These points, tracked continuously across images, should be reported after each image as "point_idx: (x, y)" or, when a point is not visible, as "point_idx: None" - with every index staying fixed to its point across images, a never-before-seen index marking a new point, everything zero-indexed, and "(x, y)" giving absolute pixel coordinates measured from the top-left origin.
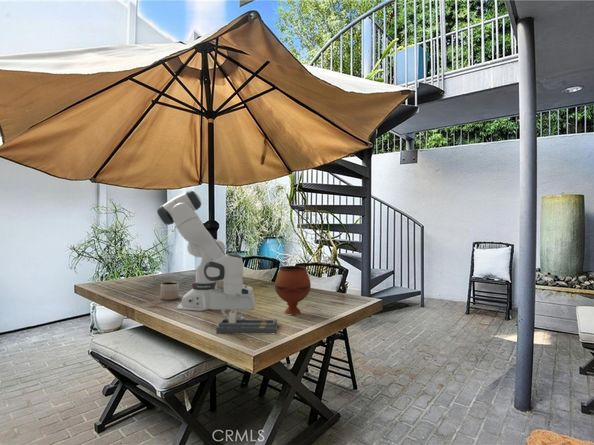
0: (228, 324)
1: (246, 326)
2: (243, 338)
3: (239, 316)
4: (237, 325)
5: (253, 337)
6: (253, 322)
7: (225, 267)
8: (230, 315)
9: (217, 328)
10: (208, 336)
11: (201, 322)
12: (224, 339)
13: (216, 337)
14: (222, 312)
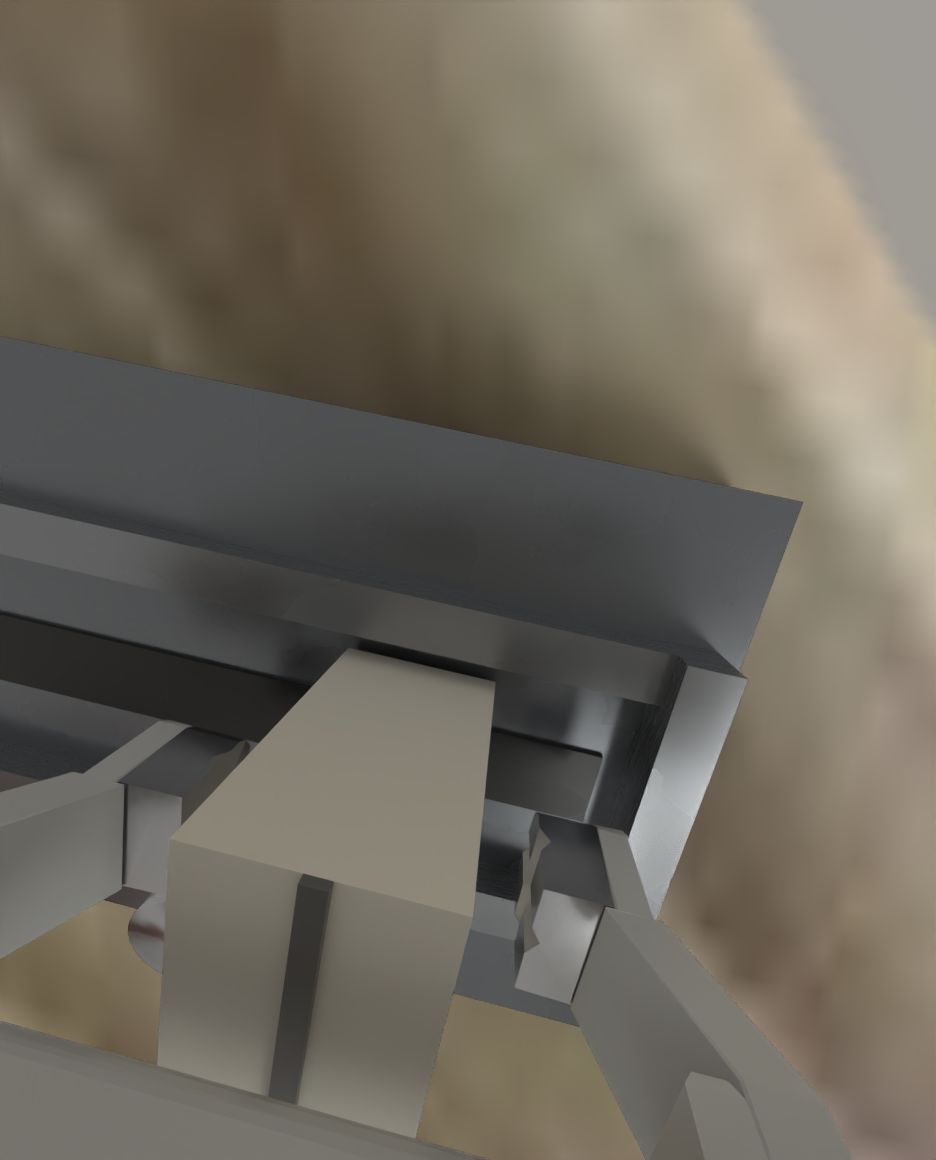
0: (501, 611)
1: (109, 475)
2: (218, 90)
3: (149, 773)
4: (300, 560)
5: (40, 133)
6: (11, 712)
7: None
8: (417, 811)
9: (764, 495)
10: (918, 329)
11: (925, 1094)
12: (598, 66)
13: (757, 235)
14: (760, 1067)
